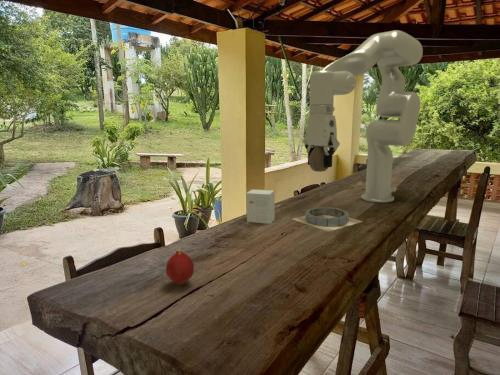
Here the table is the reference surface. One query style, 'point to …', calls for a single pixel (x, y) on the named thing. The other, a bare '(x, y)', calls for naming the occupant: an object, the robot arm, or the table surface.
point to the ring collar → (327, 222)
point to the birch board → (350, 222)
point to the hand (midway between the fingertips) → (319, 165)
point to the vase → (317, 159)
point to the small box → (260, 206)
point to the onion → (180, 268)
